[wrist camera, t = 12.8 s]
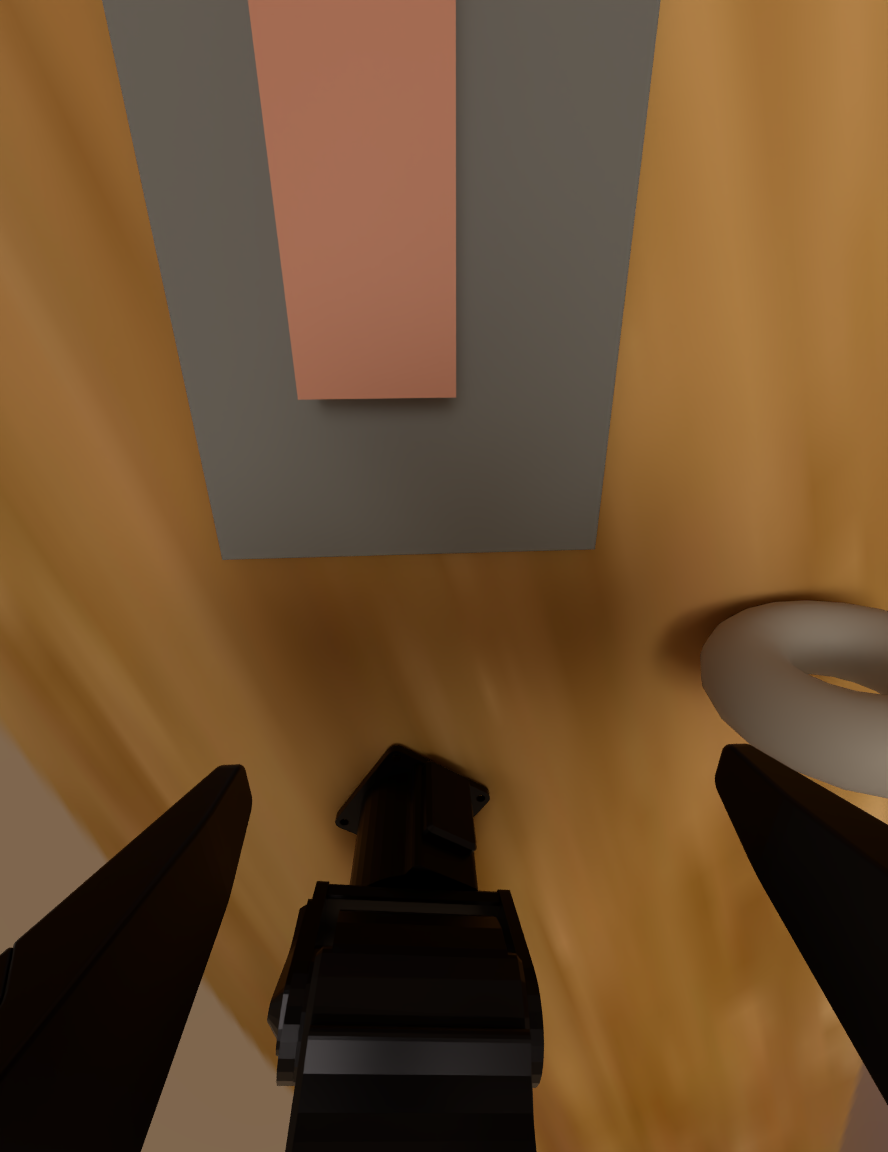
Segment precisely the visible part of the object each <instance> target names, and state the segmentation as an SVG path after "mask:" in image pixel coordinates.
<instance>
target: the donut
mask: <svg viewBox="0 0 888 1152" xmlns="http://www.w3.org/2000/svg"><path fill="white" fill-rule="evenodd" d="M700 661H701V679H702V686H703V688H704V690H705V691H706V693H707V695H708V697H709V698H710V700H711V702H712V703H713V705H714V707H715V708H716V710H717V712H718V713H719V715H720V717H721V718H722V719H723V720H724V721H725V722H726V723H727V724H728V725H729V726H730V727H731V728H733V729H734V730H735V731H736V732H737V733H738V734H739V735H740V736H741V737H743V738H744V739H745V740H746V741H747V742H748V743H749V744H750V745H752V746H754V747H755V748H757V749H759V750H760V751H762V752H764V753H766V754H767V755H769V756H771V757H772V758H774V759H776V760H778V761H779V762H781V763H783V764H784V765H786V766H788V767H790V768H791V769H793V770H795V771H797V772H799V773H802V774H805V775H807V776H810V777H812V778H815V779H818V780H820V781H823V782H826V783H828V784H831V785H833V786H836V787H839V788H841V789H844V790H849V791H854V792H859V793H864V794H869V795H874V796H879V797H884V798H888V611H886V610H882V609H876V608H871V607H865V606H860V605H854V604H849V603H839V602H825V601H810V600H802V601H784V602H772V603H768V604H764V605H760V606H755V607H751V608H748V609H745V610H743V611H741V612H739V613H737V614H735V615H733V616H732V617H730V618H728V619H726V620H724V621H723V622H721V623H720V624H719V625H718V626H717V627H716V628H715V629H714V630H713V632H712V633H711V635H710V636H709V638H708V639H707V641H706V642H705V644H704V645H703V648H702V651H701V654H700ZM808 674H815V675H823V676H831V677H836V678H840V679H844V680H847V681H851V682H855V683H857V684H860V685H862V686H865V687H867V688H870V689H872V690H875V691H877V692H878V693H880V694H874V693H867V692H859V691H854V690H850V689H847V688H843V687H839V686H836V685H832V684H829V683H826V682H824V681H822V680H819V679H817V678H815V677H812V676H810V675H808Z"/></svg>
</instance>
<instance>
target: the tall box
mask: <svg viewBox="0 0 888 1152" xmlns="http://www.w3.org/2000/svg"><path fill="white" fill-rule="evenodd" d="M248 5H249V13H250V21H251V29H252V37H253V45H254V53H255V61H256V69H257V77H258V85H259V93H260V101H261V109H262V117H263V125H264V133H265V141H266V149H267V157H268V165H269V173H270V181H271V189H272V197H273V205H274V213H275V221H276V229H277V237H278V244H279V252H280V260H281V268H282V276H283V284H284V292H285V300H286V308H287V316H288V324H289V332H290V340H291V348H292V356H293V364H294V372H295V380H296V388H297V396H298V400H312V399H383V398H454V397H456V0H248Z"/></svg>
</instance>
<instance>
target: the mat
mask: <svg viewBox="0 0 888 1152" xmlns="http://www.w3.org/2000/svg"><path fill="white" fill-rule="evenodd" d="M102 1H103V6H104V11H105V15H106V20H107V25H108V29H109V34H110V39H111V43H112V48H113V53H114V57H115V62H116V66H117V71H118V76H119V80H120V85H121V90H122V94H123V99H124V104H125V108H126V113H127V118H128V122H129V127H130V132H131V136H132V141H133V146H134V150H135V155H136V160H137V164H138V169H139V174H140V178H141V183H142V187H143V192H144V197H145V201H146V206H147V211H148V215H149V220H150V225H151V229H152V234H153V239H154V243H155V248H156V253H157V257H158V262H159V267H160V271H161V276H162V281H163V285H164V290H165V295H166V299H167V304H168V308H169V313H170V318H171V322H172V327H173V332H174V336H175V341H176V346H177V350H178V355H179V360H180V364H181V369H182V374H183V378H184V383H185V388H186V392H187V397H188V402H189V406H190V411H191V415H192V420H193V425H194V429H195V434H196V439H197V443H198V448H199V453H200V457H201V462H202V467H203V471H204V476H205V481H206V485H207V490H208V495H209V499H210V504H211V509H212V513H213V518H214V523H215V527H216V532H217V536H218V541H219V546H220V550H221V555H222V560H228V559H264V558H300V557H335V556H371V555H407V554H442V553H478V552H514V551H549V550H585V549H595V544H596V536H597V527H598V519H599V511H600V502H601V494H602V485H603V477H604V469H605V460H606V452H607V444H608V435H609V427H610V418H611V410H612V402H613V393H614V385H615V377H616V368H617V360H618V351H619V343H620V335H621V326H622V318H623V309H624V301H625V293H626V284H627V276H628V268H629V259H630V251H631V242H632V234H633V226H634V217H635V209H636V201H637V192H638V184H639V175H640V167H641V159H642V150H643V142H644V134H645V125H646V117H647V108H648V100H649V92H650V83H651V75H652V67H653V58H654V50H655V41H656V33H657V25H658V16H659V8H660V0H456V397H454V398H383V399H312V400H298V396H297V388H296V380H295V372H294V364H293V356H292V348H291V340H290V332H289V324H288V316H287V308H286V300H285V292H284V284H283V276H282V268H281V260H280V252H279V244H278V237H277V229H276V221H275V213H274V205H273V197H272V189H271V181H270V173H269V165H268V157H267V149H266V141H265V133H264V125H263V117H262V109H261V101H260V93H259V85H258V77H257V69H256V61H255V53H254V45H253V37H252V29H251V21H250V13H249V5H248V0H102Z"/></svg>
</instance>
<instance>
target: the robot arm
mask: <svg viewBox="0 0 888 1152" xmlns="http://www.w3.org/2000/svg"><path fill="white" fill-rule="evenodd" d="M394 755H399V756H394ZM715 785H716V788H717V791H718V793H719V796H720V798H721V800H722V802H723V804H724V806H725V809H726V811H727V813H728V815H729V817H730V820H731V822H732V824H733V826H734V828H735V830H736V833H737V835H738V837H739V839H740V841H741V844H742V846H743V848H744V850H745V852H746V854H747V857H748V859H749V861H750V863H751V865H752V867H753V869H754V871H755V873H756V875H757V877H758V878H759V880H760V882H761V884H762V886H763V888H764V889H765V891H766V893H767V895H768V896H769V898H770V900H771V902H772V903H773V905H774V907H775V909H776V910H777V912H778V914H779V916H780V917H781V919H782V921H783V923H784V924H785V926H786V928H787V930H788V931H789V933H790V935H791V937H792V938H793V940H794V942H795V944H796V945H797V947H798V949H799V951H800V952H801V954H802V956H803V958H804V959H805V961H806V963H807V965H808V966H809V968H810V970H811V972H812V973H813V975H814V977H815V979H816V980H817V982H818V984H819V986H820V988H821V989H822V991H823V993H824V995H825V996H826V998H827V1000H828V1002H829V1003H830V1005H831V1007H832V1009H833V1010H834V1012H835V1014H836V1016H837V1017H838V1019H839V1021H840V1023H841V1024H842V1026H843V1028H844V1030H845V1031H846V1033H847V1035H848V1037H849V1038H850V1040H851V1042H852V1044H853V1045H854V1047H855V1049H856V1051H857V1052H858V1054H859V1056H860V1058H861V1059H862V1061H863V1063H864V1065H865V1066H866V1068H867V1070H868V1071H869V1073H870V1075H871V1077H872V1079H873V1080H874V1082H875V1084H876V1086H877V1087H878V1089H879V1091H880V1092H881V1094H882V1096H883V1098H884V1099H885V1101H886V1103H887V1105H888V825H887V824H886V823H884V822H882V821H880V820H879V819H877V818H875V817H874V816H872V815H870V814H868V813H867V812H865V811H863V810H862V809H860V808H858V807H856V806H855V805H853V804H851V803H850V802H848V801H846V800H844V799H843V798H841V797H839V796H838V795H836V794H834V793H832V792H831V791H829V790H827V789H826V788H824V787H822V786H820V785H819V784H817V783H815V782H814V781H812V780H810V779H808V778H807V777H805V776H803V775H802V774H800V773H798V772H796V771H795V770H793V769H791V768H790V767H788V766H786V765H784V764H783V763H781V762H779V761H778V760H776V759H774V758H772V757H771V756H769V755H767V754H766V753H764V752H762V751H760V750H759V749H757V748H755V747H754V746H752V745H749V744H728V745H726V746H725V747H724V748H723V750H722V753H721V756H720V760H719V763H718V767H717V770H716V774H715ZM479 795H482V796H479ZM489 800H490V796H489V791H488V789H487V788H486V787H484V786H482V785H480V784H478V783H476V782H474V781H472V780H470V779H468V778H466V777H464V776H462V775H459V774H457V773H455V772H453V771H451V770H449V769H447V768H445V767H443V766H441V765H439V764H437V763H435V762H433V761H430V760H428V759H426V758H424V757H422V756H420V755H418V754H416V753H414V752H412V751H410V750H408V749H406V748H404V747H401V746H392V747H390V748H389V749H388V750H387V752H386V753H385V754H384V755H383V757H382V758H381V759H380V760H379V762H378V763H377V764H376V765H375V767H374V768H373V769H372V770H371V772H370V773H369V774H368V775H367V777H366V778H365V779H364V780H363V782H362V783H361V784H360V785H359V787H358V788H357V789H356V790H355V792H354V793H353V794H352V795H351V797H350V798H349V799H348V800H347V802H346V803H345V804H344V805H343V807H342V808H341V809H340V810H339V812H338V813H337V815H336V820H335V823H336V825H337V826H338V827H340V828H342V829H344V830H347V831H349V832H352V833H354V834H356V835H357V838H356V845H355V852H354V859H353V866H352V873H351V880H350V885H338V884H329V882H324V881H317V883H316V887H315V891H314V894H313V898H312V899H308V902H307V905H305V906H303V907H302V908H300V910H299V915H298V919H297V923H296V928H295V932H294V936H293V940H292V944H291V948H290V951H289V954H288V957H287V960H286V962H285V965H284V968H283V970H282V973H281V976H280V978H279V981H278V983H277V986H276V989H275V991H274V994H273V997H272V999H271V1002H270V1007H269V1012H268V1018H267V1022H268V1024H269V1025H270V1027H271V1029H272V1031H273V1033H274V1035H275V1037H276V1039H277V1043H276V1056H278V1065H277V1086H295V1089H294V1096H293V1103H292V1109H291V1117H290V1123H289V1130H288V1137H287V1143H286V1150H285V1152H536V1143H535V1131H534V1116H533V1091H532V1088H536V1087H537V1086H538V1085H539V1083H540V1079H541V1076H542V1069H543V1058H544V1031H543V1017H542V1007H541V999H540V993H539V987H538V982H537V978H536V974H535V970H534V966H533V963H532V960H531V957H530V954H529V950H528V947H527V944H526V941H525V938H524V934H523V931H522V928H521V925H520V922H519V918H518V915H517V912H516V909H515V905H514V902H513V899H512V896H511V893H510V890H497V892H491V891H478V886H477V876H476V867H475V857H474V851H475V850H476V847H477V846H476V837H475V828H474V819H473V817H474V816H475V815H476V814H477V813H478V812H479V811H480V810H481V809H482V808H483V807H484V806H485V805H486V804H487V802H488V801H489ZM251 808H252V795H251V791H250V787H249V783H248V779H247V774H246V770H245V768H244V767H243V766H242V765H240V764H236V765H221V766H219V767H217V768H216V769H215V770H213V771H212V772H211V773H210V774H209V775H208V776H206V777H205V778H204V779H203V780H202V781H201V782H200V783H198V784H197V785H196V786H195V787H194V788H193V789H191V790H190V791H189V792H188V793H187V794H186V795H185V796H183V797H182V798H181V799H180V800H179V801H178V802H176V803H175V804H174V805H173V806H172V807H171V808H169V809H168V810H167V811H166V812H165V813H164V814H163V815H161V816H160V817H159V818H158V819H157V820H156V821H154V822H153V823H152V824H151V825H150V826H149V827H148V828H146V829H145V830H144V831H143V832H142V833H141V834H139V835H138V836H137V837H136V838H135V839H134V840H133V841H131V842H130V843H129V844H128V845H127V846H126V847H124V848H123V849H122V850H121V851H120V852H119V853H118V854H116V855H115V856H114V857H113V858H112V859H111V860H109V861H108V862H107V863H106V864H105V865H104V866H103V867H101V868H100V869H99V870H98V871H97V872H96V873H94V874H93V875H92V876H91V877H90V878H89V879H88V880H86V881H85V882H84V883H83V884H82V885H81V886H80V887H78V888H77V889H76V890H75V891H74V892H72V893H71V894H70V895H69V896H68V897H67V898H66V899H65V900H63V901H62V902H61V903H60V904H59V905H57V906H56V907H55V908H54V909H53V910H52V911H51V912H49V913H48V914H47V915H46V916H45V917H44V918H43V919H41V920H40V921H39V922H38V923H37V924H36V925H34V926H33V927H32V928H31V929H30V930H29V931H28V932H26V933H25V934H24V935H23V936H22V937H20V938H19V939H18V940H17V941H16V942H15V943H14V946H13V948H8V949H6V950H5V951H4V952H3V953H2V954H1V955H0V1152H141V1149H142V1147H143V1144H144V1140H145V1138H146V1135H147V1132H148V1129H149V1127H150V1124H151V1121H152V1118H153V1115H154V1112H155V1110H156V1107H157V1104H158V1101H159V1098H160V1095H161V1093H162V1090H163V1087H164V1084H165V1081H166V1078H167V1076H168V1073H169V1070H170V1067H171V1064H172V1061H173V1058H174V1055H175V1053H176V1050H177V1047H178V1044H179V1041H180V1039H181V1035H182V1033H183V1030H184V1027H185V1024H186V1021H187V1018H188V1015H189V1013H190V1010H191V1007H192V1004H193V1002H194V998H195V996H196V993H197V990H198V987H199V985H200V982H201V979H202V976H203V973H204V970H205V967H206V965H207V962H208V959H209V956H210V953H211V950H212V948H213V945H214V942H215V939H216V936H217V933H218V930H219V928H220V925H221V922H222V919H223V916H224V913H225V910H226V907H227V904H228V901H229V898H230V894H231V890H232V886H233V883H234V879H235V874H236V870H237V866H238V862H239V858H240V854H241V850H242V846H243V842H244V838H245V833H246V829H247V825H248V821H249V817H250V813H251Z"/></svg>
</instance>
